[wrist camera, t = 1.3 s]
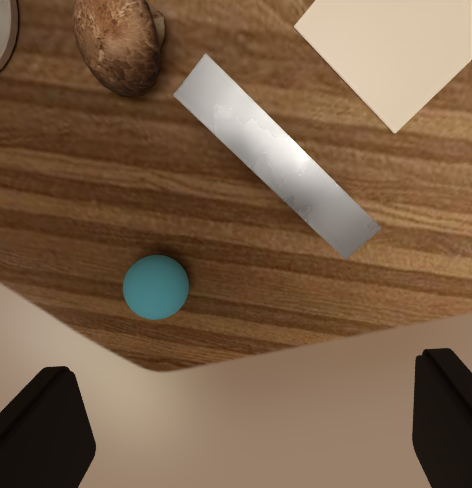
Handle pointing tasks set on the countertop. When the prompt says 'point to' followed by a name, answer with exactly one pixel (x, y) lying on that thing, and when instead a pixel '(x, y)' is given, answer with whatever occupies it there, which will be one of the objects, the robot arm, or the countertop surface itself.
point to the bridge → (275, 157)
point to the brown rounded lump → (120, 43)
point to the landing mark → (391, 49)
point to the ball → (155, 287)
